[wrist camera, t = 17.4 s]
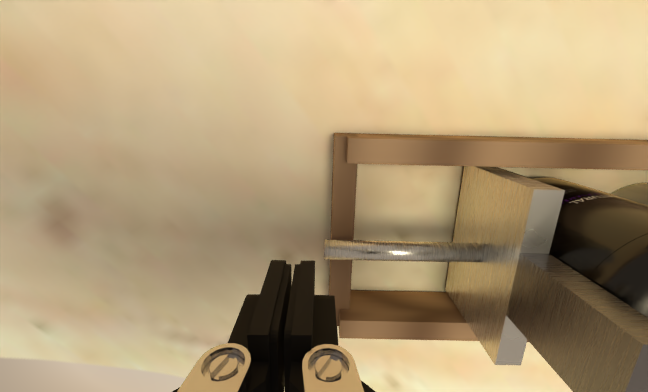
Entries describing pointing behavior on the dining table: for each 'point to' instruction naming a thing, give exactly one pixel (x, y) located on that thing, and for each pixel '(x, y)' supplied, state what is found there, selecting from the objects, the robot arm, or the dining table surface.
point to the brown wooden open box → (351, 149)
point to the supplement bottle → (603, 240)
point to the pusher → (525, 285)
